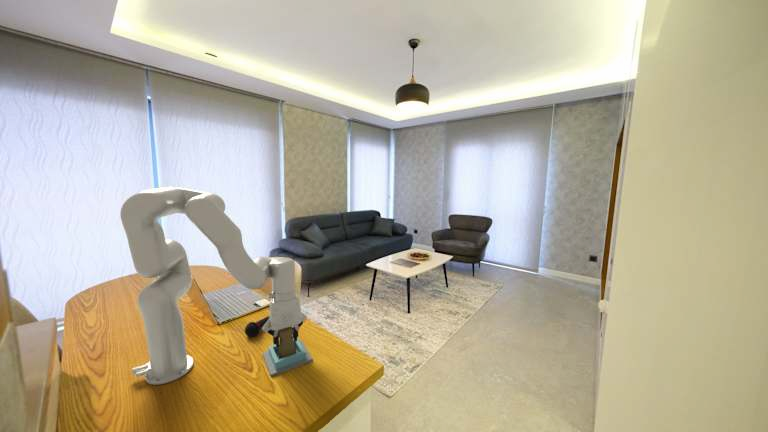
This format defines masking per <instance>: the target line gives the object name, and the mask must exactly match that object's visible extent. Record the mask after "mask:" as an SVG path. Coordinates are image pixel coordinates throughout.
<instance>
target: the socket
mask: <svg viewBox="0 0 768 432" xmlns="http://www.w3.org/2000/svg"><path fill="white" fill-rule="evenodd" d="M298 338H299V337H297V341H294V339H293V341H294V345H295V349H296V354H293V355H290V356H287V357H284V358H281V359H279V347H277V346H276V344H275V345H274V344H272V345H269V346H268V350H266V351H263V352H262V357H263V359H264V363H265V365H266V367H267V371H268V373H269V376H270V378H271V377H274V376H278V375H280V374H283V373H285V372H288V371H291V370H293V369H295V368H298V367H300V366H303V365H305V364H308V363H311V362H313V361H314V360H313V357H312V355H311V354H310V352H309V351H308V348H307V347H306V345H305V344H304V342H303V340H302V339H300V340H299V339H298Z"/></svg>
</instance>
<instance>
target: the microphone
mask: <svg viewBox="0 0 768 432" xmlns="http://www.w3.org/2000/svg"><path fill="white" fill-rule="evenodd" d="M268 319H269V315H268V316H265V317H264V318H261V319H260V320H258V321H256V322H255V321H251V322H248V323H247V325H246V327H244V333H245V335H246V336H247V337H256V336H257V335H259V333H260V330H262V327H263V326H264V324H265V323H266V322H267V320H268Z"/></svg>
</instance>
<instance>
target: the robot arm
mask: <svg viewBox="0 0 768 432" xmlns="http://www.w3.org/2000/svg"><path fill="white" fill-rule="evenodd" d="M225 211H226V204H225V201H224V199H223V198H222V197H221V196H219V195H218V194H215V193H210V192H205V191H200V190H193V189H188V188H182V187H176V186H175V187H173V186H168V187H167V186H166V187H159V188H152V189H146V190H143V191H139V192H137V193H135V194H133V195H131V196H130V197H129V198H127V199H126V200H125V201H124V202H123V204H122V205H121V208H120V221H121V225H122V226H123V230H124V232H125V234H126V239H127V243H128V246H129V251H130V254H131V260H132V262H133V266H134V269H135V271H136V273H137V274H138V275H139V276H141V278H142V277H143V278H146V279H152V278H153V280H152V281H150V282H149V283H148V284H146V285H145V286H144V287H143V288H141V290H140V292H139V293H138V295H137V298H136V301H137V308H138V310H139V312H140V313H141V314H140V315H141V317H142V320H143V325H144V331H145V332H144V333H145V337H146V346H147V352H148V358H149V362H148V363H147V362H146V363H145V365H144V364H143V365H140V366H136V367H132V369H131V373H132V375H133V376H134V375H135V377H136V378H139V377H143V376H144V379H145V382H146V383H147V384H149V385H157V386H158V385H163V384H168V383H171V382H174V381H176V380H178V379H180V378H181V377H182V378H183V376H185V375H186V374H188V373H189V371H190V370H191V369H192V368H193V366H194V359H193V357H192V356H190V355H187V354H188V353H187V344H186V343H187V342H186V336H185V327H184V326H185V325H184V318H183V314H182V312H181V309H180V308H179V305H178V303H179V302H178V301H179V300H180V299H181V298H182V297H183V296H185V294H186V293H187V292H188V291H189V290H190V289H191V287H192V284H193V283H192V281H193V279H192V278H193V277H192V273H191V269H190V265H189V260H188V259H189V258H188V254H187V251H186V249H185V247H184V246H183V245H182V244H181V243H180V242H178V241H176V240H175V239H170V238H169V239H167V238H166V237H165V232H164V229H163V227H162V225H161V224H160V223H159V221H158V220H159V219H160V218H163V217H167V216H171V215H175V214H182V215H185V216H186V217H187V218H188V220H189V221H190V222H191V223H192V224H193V225H194V226H195V227H196V228H197V229H198V230H199V231H200V232H201V233H202V234H203V235H204V237H206V238H207V239H208V240H209V241H210V242H211V243H212V245H214V247H215V248H216V249H217V253H218V255H219V258H220V259H221V261H222V263H223V265H224V267H225V268H226V270H227V271H228V273H230V275H231V276H232V277H233V278H234V279H235V280H236V281H237V282H238V283H239V284H240V285H242V286H243V288H246V289H248V290H258V289H261V288H263V287H264V286H265V285H266V284H267V281H268V280H269V279H271V292H270V293H268V294H267V298H268V299H270V300H269V301H270V302H269V308H268V316H269V319H268V320H267V322H266V323H265V324H264V326H263V327H262V328H261V330H262V332H265V333H268V335H269V336H271V337H272V340H273V341H272V343H273V345H275V344H276V346H277V347H279V342H280V338H279V336H278V331H279V330H281V329H284V328H288V327H291V326H292V327H293V334H292V337H293V339H294V341H297V338H299V330H300V328H301V327H302V325H303V324H304V322H305V321H306V320H307V319H308V316H307V315H306V314H305V313H303V312H302V308H301V307H302V306H301V301H300V299H299V298H300V297H299V295H298V294H297V292H296V263H295V260H294V259H293V258H291V257H278V258H275V257H267V256H258V257H256V258H253V259H252V258H251V256H250V255H249V254H248V252H247V251H246V249H245V246H244V243H243V235H242V231H241V229H240V228H239V226H237V225H236V223H234V221H233V220H232V219H231V218H230V217H229V216H228V215H227V214H226V213H225ZM156 277H157V278H156ZM154 278H155V279H154ZM269 327H270V328H269Z"/></svg>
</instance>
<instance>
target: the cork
mask: <svg viewBox="0 0 768 432" xmlns="http://www.w3.org/2000/svg"><path fill="white" fill-rule="evenodd" d="M293 327H294V326H291V327H288V328H284V329H281V330H279V331H278V336H279V359H281V358H284V357H287V356H290V355H293V354H296V349H295V345H294V341H293Z"/></svg>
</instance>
